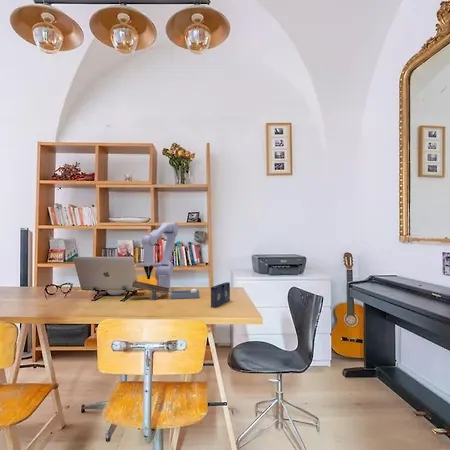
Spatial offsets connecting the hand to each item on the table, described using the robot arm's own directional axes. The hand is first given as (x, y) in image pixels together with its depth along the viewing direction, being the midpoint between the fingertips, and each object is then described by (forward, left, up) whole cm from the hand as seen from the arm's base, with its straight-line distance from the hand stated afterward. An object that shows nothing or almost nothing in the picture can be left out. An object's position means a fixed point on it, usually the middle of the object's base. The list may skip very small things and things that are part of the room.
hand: (148, 279), depth 202 cm
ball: (+9, +26, -7) cm, 28 cm away
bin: (+9, +21, -10) cm, 24 cm away
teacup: (-7, -21, -10) cm, 24 cm away
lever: (+5, +2, -5) cm, 7 cm away
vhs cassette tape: (+30, +39, -10) cm, 50 cm away
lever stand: (+9, +4, -10) cm, 14 cm away
